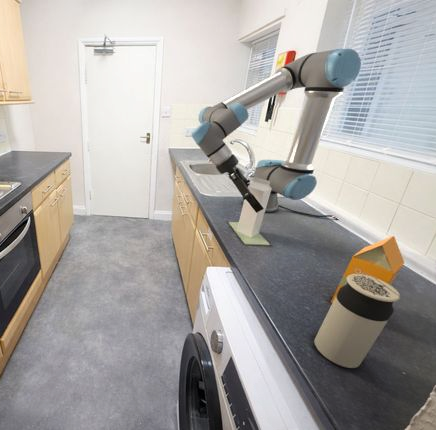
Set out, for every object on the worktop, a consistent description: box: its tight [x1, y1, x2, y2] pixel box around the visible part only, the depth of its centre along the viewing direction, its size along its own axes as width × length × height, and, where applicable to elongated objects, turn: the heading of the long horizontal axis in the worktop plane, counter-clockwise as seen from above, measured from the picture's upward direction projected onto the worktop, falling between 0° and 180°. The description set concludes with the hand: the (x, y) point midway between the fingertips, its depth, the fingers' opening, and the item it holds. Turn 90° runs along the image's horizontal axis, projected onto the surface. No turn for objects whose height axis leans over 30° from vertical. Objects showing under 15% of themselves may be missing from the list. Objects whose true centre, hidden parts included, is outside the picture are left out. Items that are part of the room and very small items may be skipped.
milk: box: [237, 176, 272, 237], centre depth 100 cm, size 6×6×22 cm
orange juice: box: [330, 235, 405, 304], centre depth 66 cm, size 8×9×20 cm
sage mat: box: [228, 221, 271, 247], centre depth 105 cm, size 9×18×1 cm, turn 177°
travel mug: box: [313, 274, 401, 369], centre depth 53 cm, size 8×8×18 cm
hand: (257, 203), depth 99 cm, fingers open, 13 cm apart
